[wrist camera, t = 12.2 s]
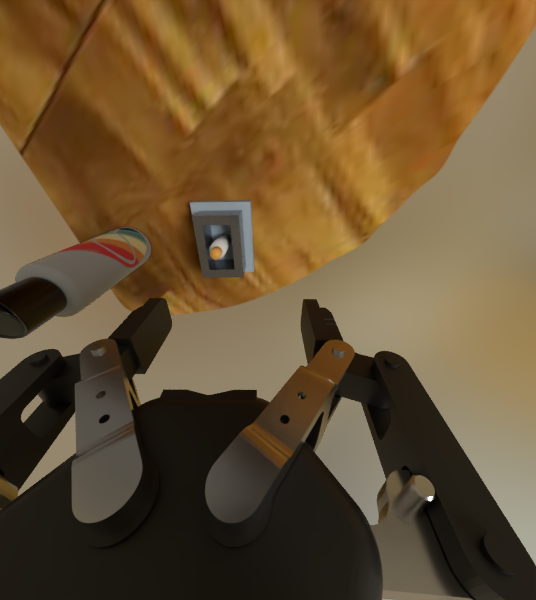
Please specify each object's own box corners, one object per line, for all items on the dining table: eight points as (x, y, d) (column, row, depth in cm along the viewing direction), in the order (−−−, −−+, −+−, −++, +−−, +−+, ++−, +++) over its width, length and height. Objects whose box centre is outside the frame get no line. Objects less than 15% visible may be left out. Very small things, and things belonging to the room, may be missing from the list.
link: (200, 210, 30) (191, 216, 26) (242, 210, 30) (238, 215, 26) (209, 266, 34) (202, 277, 30) (245, 266, 34) (243, 276, 30)
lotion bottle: (139, 221, 32) (-11, 281, 15) (159, 257, 35) (52, 344, 18) (105, 232, 33) (-76, 302, 15) (127, 267, 36) (-5, 359, 18)
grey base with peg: (193, 201, 31) (171, 210, 24) (250, 200, 31) (246, 209, 24) (204, 268, 36) (189, 292, 29) (254, 268, 36) (251, 291, 29)
